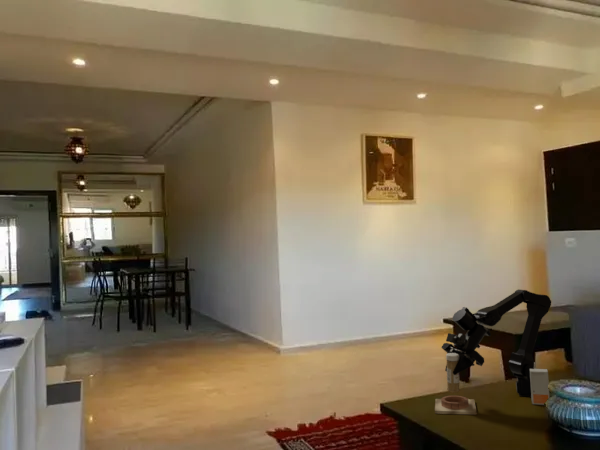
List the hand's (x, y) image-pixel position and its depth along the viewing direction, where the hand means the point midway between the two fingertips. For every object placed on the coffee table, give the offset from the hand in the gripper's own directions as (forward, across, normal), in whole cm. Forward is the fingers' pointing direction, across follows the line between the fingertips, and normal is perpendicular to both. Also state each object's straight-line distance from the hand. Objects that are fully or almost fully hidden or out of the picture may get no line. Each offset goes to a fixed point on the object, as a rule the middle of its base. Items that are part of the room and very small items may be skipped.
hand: (449, 372), depth 191 cm
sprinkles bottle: (+4, -1, +6) cm, 7 cm away
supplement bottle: (-20, -6, +39) cm, 44 cm away
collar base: (+8, 0, +10) cm, 13 cm away
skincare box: (-12, +11, +31) cm, 35 cm away
